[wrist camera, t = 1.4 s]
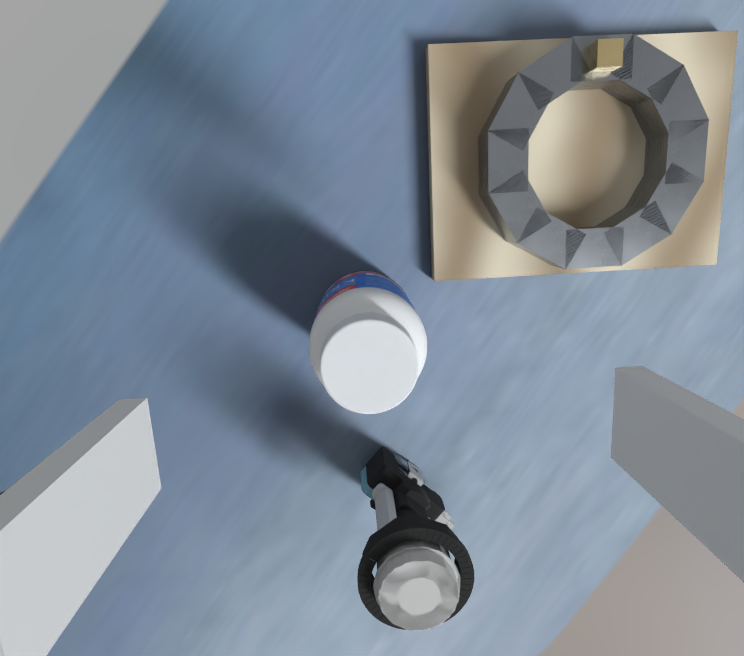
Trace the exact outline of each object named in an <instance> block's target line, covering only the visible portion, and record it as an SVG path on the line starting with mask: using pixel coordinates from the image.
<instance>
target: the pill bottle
mask: <svg viewBox="0 0 744 656" xmlns="http://www.w3.org/2000/svg"><path fill="white" fill-rule="evenodd" d="M426 354H427V338H426V333H425V329H424V327H423V324H422V321H421V319H420V317H419V316H418V314H417V312H416V310H415V309H414V307H413V305H412V304H411V302H410V300H409V299H408V297H407V295H406V294H405V292H404V291H403V289H402V288H401V287H400V286H399V285H398V284H397V283H396V282H394V281H393V280H392V279H390V278H389V277H387V276H385V275H382V274H379V273H376V272H368V271H362V272H355V273H351V274H348V275H346V276H344V277H342V278H340V279H339V280H337V281H336V282H335V283H334V284H332V285H331V286H330V288H329V289H328V290H327V291H326V293H325V294H324V296H323V298H322V300H321V302H320V305H319V308H318V311H317V314H316V316H315V319H314V322H313V325H312V328H311V333H310V338H309V356H310V361H311V364H312V367H313V370H314V372H315V374H316V375H317V377H318V379H319V380H320V381H321V383H322V384H323V385H324V387H325V389H326V390H327V392H328V394H329V395H330V396H331V397H332V398H333V399H334V400H335V401H336V402H337V403H338V404H339V405H341V406H342V407H344V408H346V409H348V410H351V411H354V412H357V413H363V414H375V413H381V412H384V411H387V410H390V409H392V408H394V407H395V406H397V405H399V404H400V403H401V402H402V401H403V400H404V399H405V398H406V397H407V396H408V395H409V394H410V392H411V391H412V389H413V388H414V385H415V383H416V380H417V378H418V376H419V375H420V373H421V371H422V369H423V366H424V363H425V359H426Z"/></svg>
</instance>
